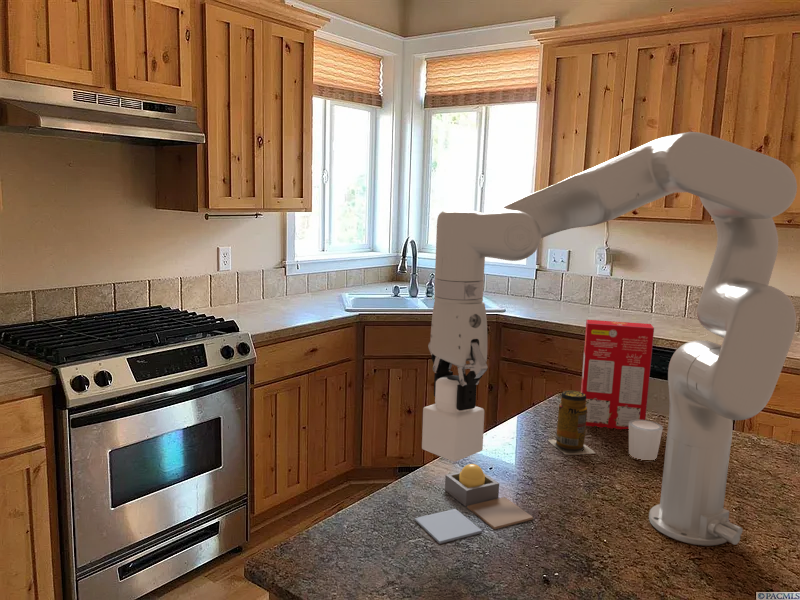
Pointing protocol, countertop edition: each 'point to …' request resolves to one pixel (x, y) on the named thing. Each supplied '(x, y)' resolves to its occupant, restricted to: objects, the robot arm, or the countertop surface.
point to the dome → (472, 476)
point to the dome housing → (471, 490)
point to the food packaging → (616, 372)
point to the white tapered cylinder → (644, 439)
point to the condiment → (572, 424)
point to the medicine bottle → (451, 424)
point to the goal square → (447, 525)
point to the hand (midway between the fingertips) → (454, 401)
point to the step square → (499, 512)
